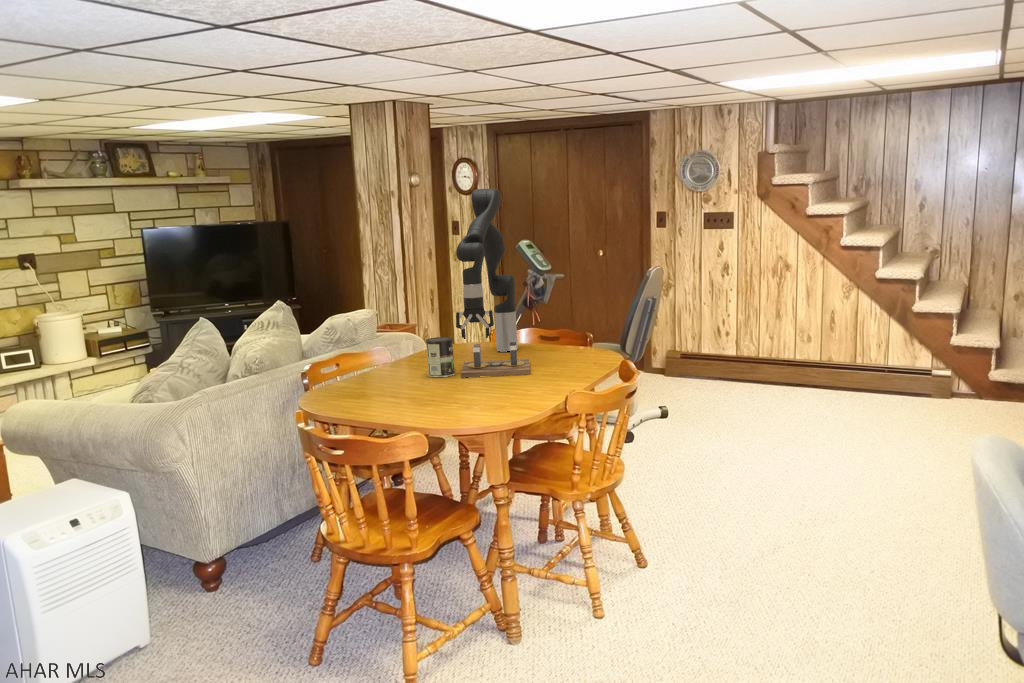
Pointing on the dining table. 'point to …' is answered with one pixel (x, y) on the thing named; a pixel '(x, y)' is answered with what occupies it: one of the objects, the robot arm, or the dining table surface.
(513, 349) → the knob
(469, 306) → the robot arm
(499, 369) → the base plate
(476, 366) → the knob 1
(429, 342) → the coffee can
